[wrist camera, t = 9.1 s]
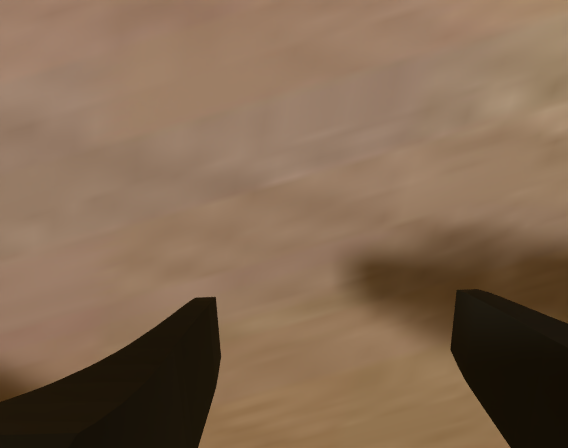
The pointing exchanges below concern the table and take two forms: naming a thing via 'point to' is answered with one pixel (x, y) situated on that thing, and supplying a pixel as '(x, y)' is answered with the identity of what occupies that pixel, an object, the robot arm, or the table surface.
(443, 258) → the table surface
